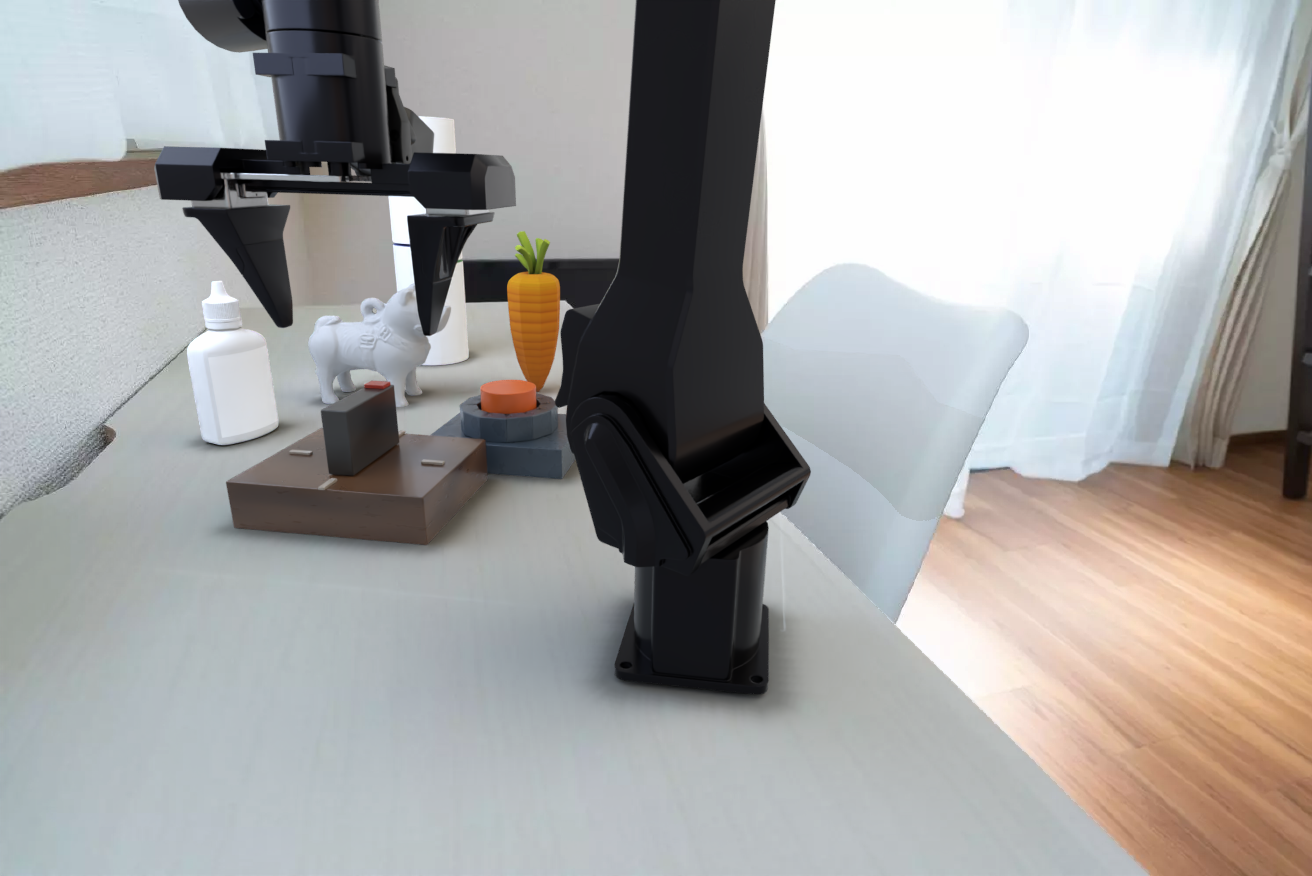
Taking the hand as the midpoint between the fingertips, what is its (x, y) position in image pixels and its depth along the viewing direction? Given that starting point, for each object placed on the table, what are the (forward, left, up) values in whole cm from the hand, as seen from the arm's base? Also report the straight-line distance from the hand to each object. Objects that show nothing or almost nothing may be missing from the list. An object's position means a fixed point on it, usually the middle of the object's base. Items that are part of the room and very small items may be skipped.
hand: (357, 330), depth 45 cm
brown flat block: (-1, 0, -11) cm, 11 cm away
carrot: (+26, -3, -11) cm, 29 cm away
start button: (+9, -6, -7) cm, 13 cm away
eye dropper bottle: (+9, +16, -11) cm, 22 cm away
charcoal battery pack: (-1, 0, -8) cm, 8 cm away
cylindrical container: (+37, +12, -11) cm, 41 cm away
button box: (+9, -6, -11) cm, 16 cm away
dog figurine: (+21, +10, -11) cm, 26 cm away
